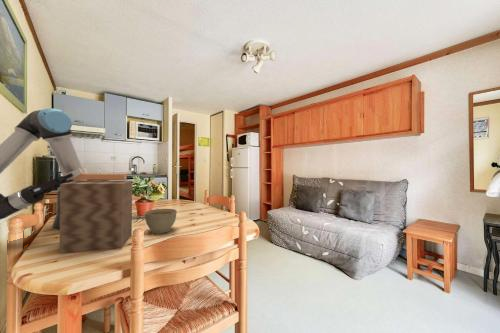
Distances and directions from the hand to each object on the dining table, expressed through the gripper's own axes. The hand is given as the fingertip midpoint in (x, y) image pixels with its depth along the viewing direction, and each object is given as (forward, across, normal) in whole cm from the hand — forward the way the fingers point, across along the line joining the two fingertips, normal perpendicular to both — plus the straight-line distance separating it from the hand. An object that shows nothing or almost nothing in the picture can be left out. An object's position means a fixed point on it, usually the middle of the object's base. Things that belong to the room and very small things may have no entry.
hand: (83, 170), depth 99 cm
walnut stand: (-9, +4, -33) cm, 34 cm away
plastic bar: (+3, 0, -6) cm, 7 cm away
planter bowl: (+12, -8, -45) cm, 47 cm away
